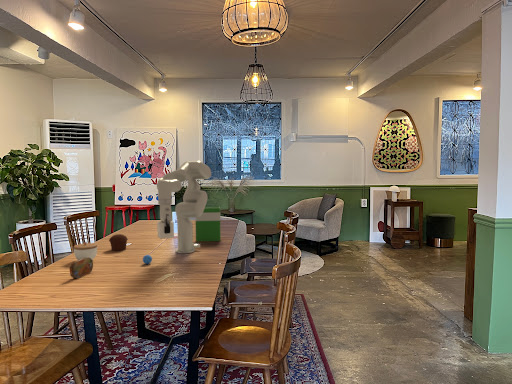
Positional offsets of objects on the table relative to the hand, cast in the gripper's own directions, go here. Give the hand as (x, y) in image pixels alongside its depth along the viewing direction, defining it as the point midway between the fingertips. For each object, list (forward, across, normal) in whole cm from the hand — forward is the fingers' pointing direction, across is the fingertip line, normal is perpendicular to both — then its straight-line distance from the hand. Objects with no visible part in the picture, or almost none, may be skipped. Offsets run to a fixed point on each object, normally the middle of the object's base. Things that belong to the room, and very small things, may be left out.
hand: (165, 231), depth 215 cm
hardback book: (+17, +46, -42) cm, 64 cm away
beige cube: (+3, 0, 0) cm, 3 cm away
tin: (+17, -10, +45) cm, 49 cm away
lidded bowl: (+17, +23, +42) cm, 50 cm away
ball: (+14, -2, +11) cm, 18 cm away
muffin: (+17, +44, +21) cm, 52 cm away
